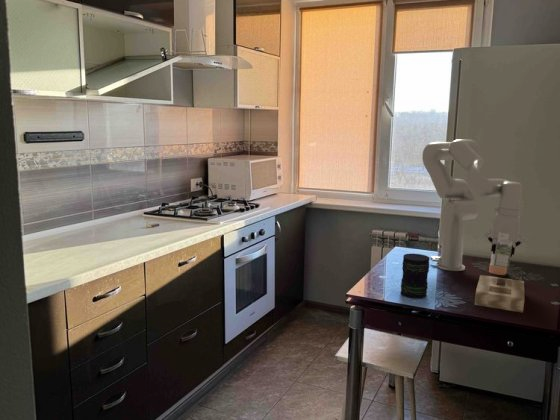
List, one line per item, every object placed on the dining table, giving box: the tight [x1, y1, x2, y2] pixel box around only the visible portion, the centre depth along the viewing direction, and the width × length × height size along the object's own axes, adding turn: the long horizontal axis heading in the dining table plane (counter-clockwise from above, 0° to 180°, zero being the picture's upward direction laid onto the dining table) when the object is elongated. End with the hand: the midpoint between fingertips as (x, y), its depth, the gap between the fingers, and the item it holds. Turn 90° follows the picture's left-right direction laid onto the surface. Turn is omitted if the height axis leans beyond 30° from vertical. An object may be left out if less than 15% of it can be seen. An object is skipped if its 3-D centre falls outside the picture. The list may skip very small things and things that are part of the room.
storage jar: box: [400, 253, 431, 300], centre depth 192 cm, size 10×10×15 cm
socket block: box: [474, 274, 525, 314], centre depth 191 cm, size 16×24×5 cm, turn 155°
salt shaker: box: [488, 237, 508, 276], centre depth 226 cm, size 7×7×19 cm
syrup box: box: [493, 232, 513, 268], centre depth 208 cm, size 6×6×14 cm
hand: (502, 254), depth 208 cm, fingers closed on syrup box, 6 cm apart
